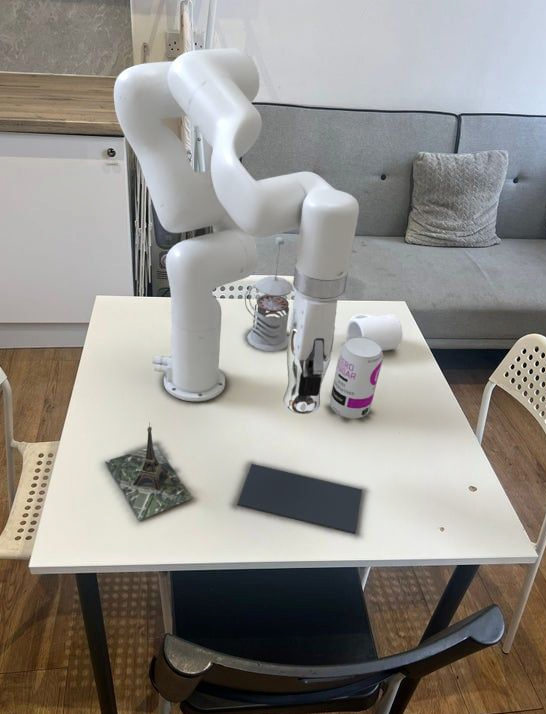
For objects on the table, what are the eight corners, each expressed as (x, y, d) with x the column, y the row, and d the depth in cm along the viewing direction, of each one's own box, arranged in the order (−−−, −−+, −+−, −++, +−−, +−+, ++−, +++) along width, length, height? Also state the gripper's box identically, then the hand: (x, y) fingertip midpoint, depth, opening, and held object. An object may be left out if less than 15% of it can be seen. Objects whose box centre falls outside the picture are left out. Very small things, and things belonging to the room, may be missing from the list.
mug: (397, 355, 146) (406, 325, 141) (359, 361, 143) (366, 331, 138) (373, 327, 154) (379, 298, 149) (336, 332, 151) (341, 303, 146)
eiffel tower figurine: (102, 463, 111) (97, 404, 103) (155, 445, 116) (154, 387, 108) (139, 522, 102) (136, 462, 94) (194, 499, 107) (197, 441, 98)
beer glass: (278, 390, 107) (287, 312, 98) (318, 390, 108) (331, 313, 98) (283, 416, 102) (293, 337, 92) (326, 416, 102) (340, 337, 93)
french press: (276, 356, 142) (289, 252, 126) (232, 338, 146) (239, 235, 130) (297, 337, 148) (312, 236, 133) (255, 320, 153) (264, 221, 137)
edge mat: (237, 505, 106) (237, 503, 106) (251, 465, 114) (251, 463, 114) (355, 534, 104) (355, 532, 103) (361, 490, 111) (362, 489, 111)
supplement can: (374, 402, 131) (389, 342, 122) (362, 425, 125) (377, 363, 116) (337, 390, 134) (349, 329, 124) (323, 412, 128) (335, 350, 118)
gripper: (286, 252, 97) (275, 350, 108) (302, 310, 84) (288, 415, 95) (334, 254, 98) (318, 351, 109) (358, 311, 84) (337, 415, 96)
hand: (304, 380), depth 102 cm, fingers closed on beer glass, 6 cm apart
